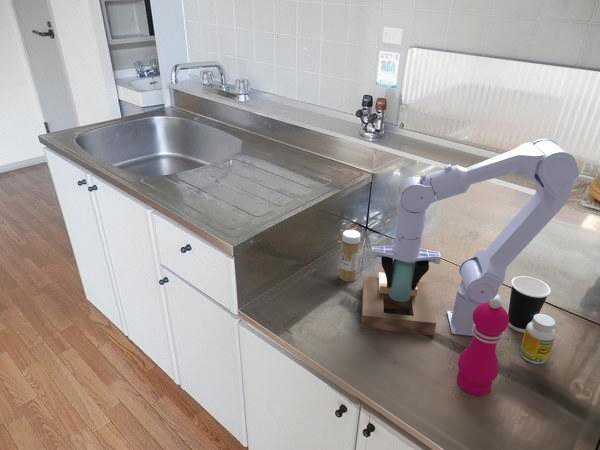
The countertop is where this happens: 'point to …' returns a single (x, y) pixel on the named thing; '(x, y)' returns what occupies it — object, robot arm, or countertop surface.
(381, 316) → the socket block
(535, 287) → the dixie cup
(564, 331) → the countertop surface
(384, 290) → the panel
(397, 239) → the robot arm
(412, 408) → the countertop surface
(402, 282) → the peg
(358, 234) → the sprinkles bottle
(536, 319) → the supplement bottle
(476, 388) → the pepper mill
